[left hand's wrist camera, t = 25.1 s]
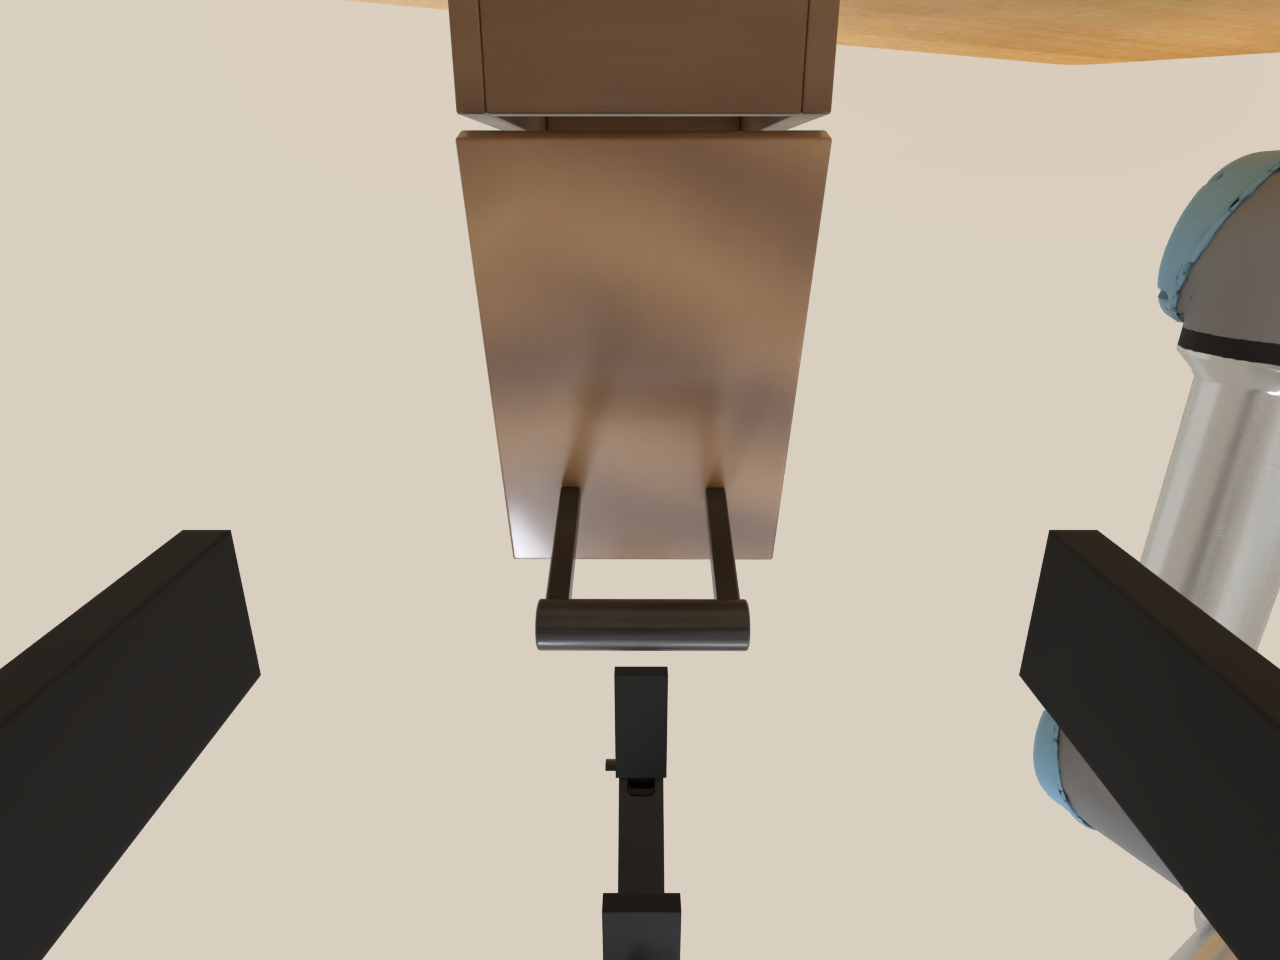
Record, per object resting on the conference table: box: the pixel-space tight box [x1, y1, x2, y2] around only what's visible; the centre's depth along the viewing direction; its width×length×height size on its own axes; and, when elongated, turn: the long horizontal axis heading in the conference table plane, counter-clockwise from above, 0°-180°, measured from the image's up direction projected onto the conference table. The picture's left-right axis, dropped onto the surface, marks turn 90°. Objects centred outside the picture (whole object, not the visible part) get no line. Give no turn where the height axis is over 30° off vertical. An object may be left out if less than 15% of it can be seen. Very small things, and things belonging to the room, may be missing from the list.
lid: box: [456, 131, 832, 651], centre depth 22 cm, size 15×10×8 cm
